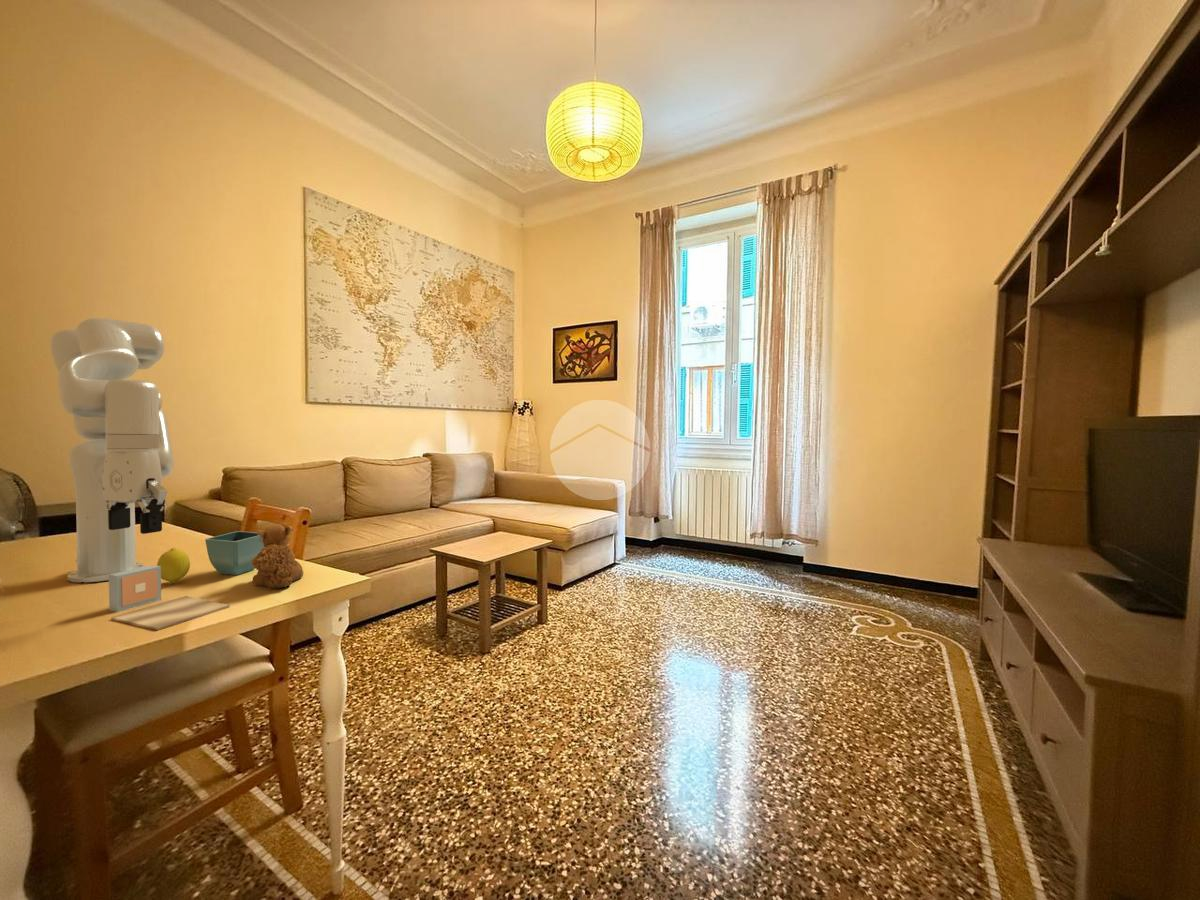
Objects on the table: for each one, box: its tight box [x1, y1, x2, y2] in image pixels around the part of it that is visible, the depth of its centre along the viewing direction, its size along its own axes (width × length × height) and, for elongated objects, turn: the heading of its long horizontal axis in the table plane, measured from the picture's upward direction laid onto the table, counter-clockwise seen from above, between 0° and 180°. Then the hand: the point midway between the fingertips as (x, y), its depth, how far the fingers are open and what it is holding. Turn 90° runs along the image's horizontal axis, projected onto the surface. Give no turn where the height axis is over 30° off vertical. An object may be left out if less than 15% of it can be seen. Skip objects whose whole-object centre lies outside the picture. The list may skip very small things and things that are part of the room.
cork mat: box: [111, 595, 230, 631], centre depth 91 cm, size 13×12×1 cm
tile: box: [108, 564, 162, 613], centre depth 95 cm, size 3×7×7 cm, turn 161°
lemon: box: [156, 547, 191, 584], centre depth 108 cm, size 6×6×8 cm
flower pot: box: [204, 530, 264, 576], centre depth 117 cm, size 9×9×9 cm
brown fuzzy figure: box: [250, 524, 304, 590], centre depth 109 cm, size 10×14×13 cm
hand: (135, 530), depth 94 cm, fingers open, 9 cm apart
